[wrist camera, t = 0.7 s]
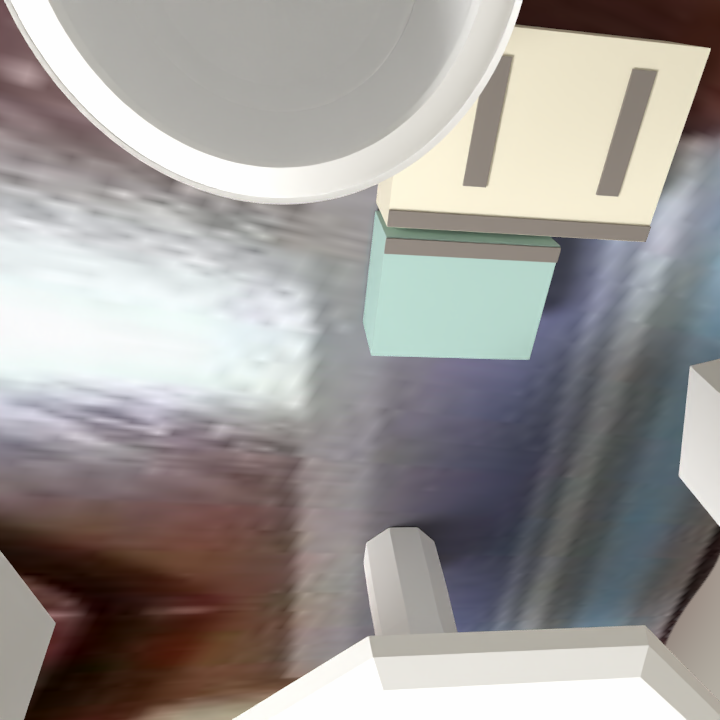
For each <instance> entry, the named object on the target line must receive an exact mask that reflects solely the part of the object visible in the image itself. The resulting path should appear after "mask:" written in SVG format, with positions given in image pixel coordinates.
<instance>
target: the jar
mask: <svg viewBox="0 0 720 720" xmlns="http://www.w3.org/2000/svg"><path fill="white" fill-rule="evenodd" d="M4 1H5V3H6V5H7V7H8V10H9V12H10V13H11V15H12V17H13V19H14V21H15V23H16V25H17V27H18V28H19V30H20V32H21V34H22V35H23V37H24V39H25V40H26V42H27V44H28V45H29V47H30V48H31V50H32V51H33V53H34V55H35V56H36V58H37V59H38V60H39V62H40V63H41V65H42V66H43V68H44V69H45V70H46V72H47V73H48V74H49V76H50V77H51V78H52V80H53V81H54V82H55V83H56V85H57V86H58V87H59V88H60V89H61V91H62V92H63V93H64V94H65V95H66V96H67V98H68V99H69V100H70V101H71V102H72V103H73V104H74V105H75V106H76V107H77V108H78V109H79V111H80V112H81V113H82V114H83V115H84V116H85V117H86V118H88V119H89V120H90V121H91V122H92V123H93V124H94V125H95V126H96V127H97V128H98V129H99V130H101V131H102V132H103V133H104V134H105V135H106V136H108V137H109V138H110V139H111V140H113V141H114V142H115V143H116V144H118V145H119V146H120V147H122V148H123V149H124V150H126V151H127V152H129V153H130V154H131V155H133V156H134V157H136V158H137V159H139V160H140V161H142V162H144V163H145V164H147V165H149V166H150V167H152V168H154V169H156V170H157V171H159V172H161V173H163V174H165V175H167V176H169V177H171V178H173V179H175V180H177V181H179V182H182V183H184V184H186V185H189V186H191V187H194V188H197V189H199V190H202V191H205V192H208V193H212V194H215V195H218V196H222V197H226V198H231V199H235V200H240V201H246V202H254V203H263V204H303V203H312V202H319V201H325V200H330V199H335V198H339V197H343V196H346V195H349V194H353V193H356V192H359V191H361V190H364V189H367V188H369V187H371V186H374V185H376V184H378V183H380V182H382V181H384V180H386V179H388V178H390V177H392V176H394V175H396V174H397V173H399V172H401V171H402V170H404V169H406V168H407V167H409V166H410V165H412V164H413V163H414V162H416V161H417V160H419V159H420V158H421V157H423V156H424V155H425V154H426V153H428V152H429V151H430V150H431V149H432V148H434V147H435V146H436V145H437V144H438V143H439V142H440V141H441V140H442V139H443V138H444V137H445V136H446V135H448V133H449V132H450V131H451V130H452V129H453V128H454V127H455V126H456V125H457V124H458V123H459V122H460V120H461V119H462V118H463V117H464V116H465V114H466V113H467V112H468V111H469V109H470V108H471V107H472V105H473V104H474V103H475V101H476V100H477V98H478V97H479V95H480V94H481V92H482V91H483V89H484V88H485V86H486V85H487V83H488V81H489V80H490V78H491V76H492V74H493V73H494V71H495V69H496V67H497V65H498V63H499V61H500V59H501V57H502V55H503V53H504V51H505V48H506V46H507V44H508V41H509V39H510V37H511V34H512V31H513V29H514V26H515V23H516V20H517V17H518V14H519V11H520V8H521V4H522V1H523V0H4Z"/></svg>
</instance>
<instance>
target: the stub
mask: <svg viewBox="0 0 720 720" xmlns="http://www.w3.org/2000/svg"><path fill="white" fill-rule="evenodd" d="M560 251H561V248H560V245H559V244H558V243H557V242H555V241H554V240H553V239H552V238H551V237H550V236H536V235H519V234H502V233H485V232H468V231H451V230H434V229H417V228H400V227H387V226H386V223H385V221H384V219H383V217H382V214H381V212H380V211H375V219H374V228H373V237H372V246H371V255H370V263H369V272H368V281H367V290H366V299H365V308H364V316H363V324H364V328H365V332H366V336H367V340H368V344H369V348H370V352H371V356H405V357H441V358H476V359H512V360H529V359H530V355H531V351H532V348H533V344H534V340H535V337H536V333H537V330H538V326H539V322H540V319H541V315H542V311H543V308H544V304H545V301H546V297H547V293H548V290H549V286H550V282H551V279H552V275H553V272H554V268H555V264H556V263H557V262H558V258H559V254H560Z"/></svg>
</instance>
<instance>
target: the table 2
mask: <svg viewBox="0 0 720 720" xmlns="http://www.w3.org/2000/svg"><path fill="white" fill-rule="evenodd" d="M364 569H365V576H366V582H367V589H368V596H369V603H370V609H371V614H372V619H373V625H374V630H375V636H368V637H366V638H365V639H363V640H361V641H360V642H358V643H356V644H355V645H353V646H352V647H350V648H348V649H347V650H345V651H343V652H342V653H340V654H338V655H337V656H335V657H334V658H332V659H330V660H329V661H327V662H325V663H324V664H322V665H321V666H319V667H317V668H316V669H314V670H312V671H311V672H309V673H308V674H306V675H304V676H303V677H301V678H299V679H298V680H296V681H294V682H293V683H291V684H290V685H288V686H286V687H285V688H283V689H281V690H280V691H278V692H277V693H275V694H273V695H272V696H270V697H268V698H267V699H265V700H264V701H262V702H260V703H259V704H257V705H255V706H254V707H252V708H250V709H249V710H247V711H246V712H244V713H242V714H241V715H239V716H237V717H236V718H234V719H233V720H720V701H719V700H718V699H717V698H716V697H715V696H714V695H713V694H712V693H711V692H710V691H709V690H708V689H707V688H706V687H705V686H704V685H703V684H702V683H701V682H700V681H699V680H698V679H697V678H696V677H695V676H694V675H693V674H692V673H691V672H690V671H689V670H688V668H687V667H685V666H684V664H683V663H682V662H681V661H679V659H678V658H677V657H676V656H675V655H674V654H672V652H671V651H670V650H669V649H668V648H667V647H666V646H665V645H664V644H663V643H662V642H661V641H660V640H659V639H658V638H657V637H656V636H655V635H654V634H653V633H652V632H651V631H650V630H649V629H648V628H647V627H646V626H645V625H640V626H614V627H588V628H563V629H537V630H511V631H486V632H460V633H458V632H457V629H456V625H455V620H454V616H453V612H452V608H451V603H450V599H449V595H448V591H447V587H446V582H445V579H444V575H443V571H442V568H441V564H440V561H439V557H438V553H437V550H436V546H435V543H434V541H433V540H432V539H431V538H430V537H428V536H427V535H426V534H425V533H424V532H423V531H421V530H420V529H419V528H418V527H396V528H388V529H386V530H385V531H383V532H382V533H380V534H379V535H377V536H376V537H374V538H373V539H371V540H370V541H368V542H367V543H366V549H365V556H364Z"/></svg>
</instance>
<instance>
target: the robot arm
mask: <svg viewBox="0 0 720 720" xmlns="http://www.w3.org/2000/svg"><path fill="white" fill-rule="evenodd" d="M679 477H680V478H681V480H682V481H683V482H684V483H685V484H686V486H687V487H688V488H689V489H690V491H691V492H692V493H693V494H694V495H695V497H696V498H697V499H698V500H699V502H700V503H701V504H702V505H703V507H704V508H705V509H706V510H707V511H708V513H709V514H710V515H711V516H712V518H713V519H714V520H715V521H716V522H717V524H718V525H719V526H720V359H717V360H713V361H708V362H704V363H700V364H696V365H691V366H690V370H689V380H688V390H687V399H686V409H685V419H684V429H683V438H682V448H681V458H680V468H679ZM55 624H56V623H55V622H54V620H53V619H52V618H51V617H50V615H49V614H48V613H47V611H46V610H45V609H44V607H43V606H42V605H41V603H40V602H39V601H38V600H37V598H36V597H35V596H34V594H33V593H32V592H31V590H30V589H29V588H28V586H27V585H26V584H25V583H24V581H23V580H22V579H21V577H20V576H19V575H18V573H17V572H16V571H15V569H14V568H13V567H12V566H11V564H10V563H9V562H8V560H7V559H6V558H5V556H4V555H3V554H2V552H1V551H0V720H24V717H25V714H26V711H27V708H28V705H29V702H30V699H31V696H32V693H33V690H34V687H35V684H36V681H37V678H38V675H39V672H40V669H41V666H42V663H43V660H44V657H45V654H46V651H47V648H48V645H49V642H50V639H51V636H52V633H53V630H54V627H55Z"/></svg>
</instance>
